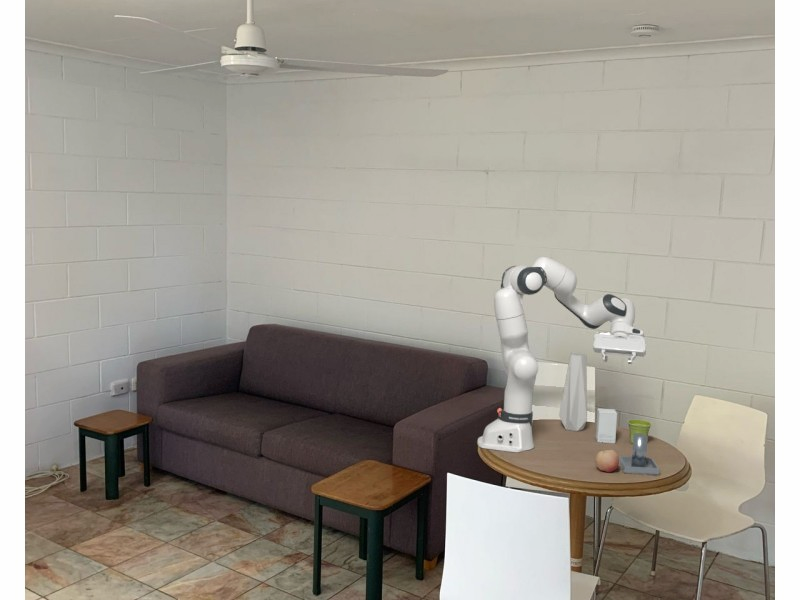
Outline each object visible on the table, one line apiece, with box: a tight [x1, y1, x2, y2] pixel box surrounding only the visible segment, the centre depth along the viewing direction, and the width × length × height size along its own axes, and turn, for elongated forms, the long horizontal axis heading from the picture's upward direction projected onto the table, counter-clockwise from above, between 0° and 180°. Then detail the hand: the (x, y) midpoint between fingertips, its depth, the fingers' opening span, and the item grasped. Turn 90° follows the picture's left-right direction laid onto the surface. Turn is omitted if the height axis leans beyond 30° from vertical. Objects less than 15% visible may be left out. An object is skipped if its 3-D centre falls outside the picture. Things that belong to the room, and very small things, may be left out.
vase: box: [558, 352, 588, 432], centre depth 326 cm, size 12×12×33 cm
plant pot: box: [627, 419, 652, 444], centre depth 309 cm, size 9×9×9 cm
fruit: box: [595, 449, 620, 473], centre depth 274 cm, size 8×8×8 cm
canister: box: [631, 433, 649, 467], centre depth 277 cm, size 5×5×12 cm
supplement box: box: [595, 408, 618, 444], centre depth 312 cm, size 7×7×13 cm
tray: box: [618, 455, 660, 476], centre depth 278 cm, size 12×12×2 cm
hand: (617, 362), depth 297 cm, fingers open, 8 cm apart
